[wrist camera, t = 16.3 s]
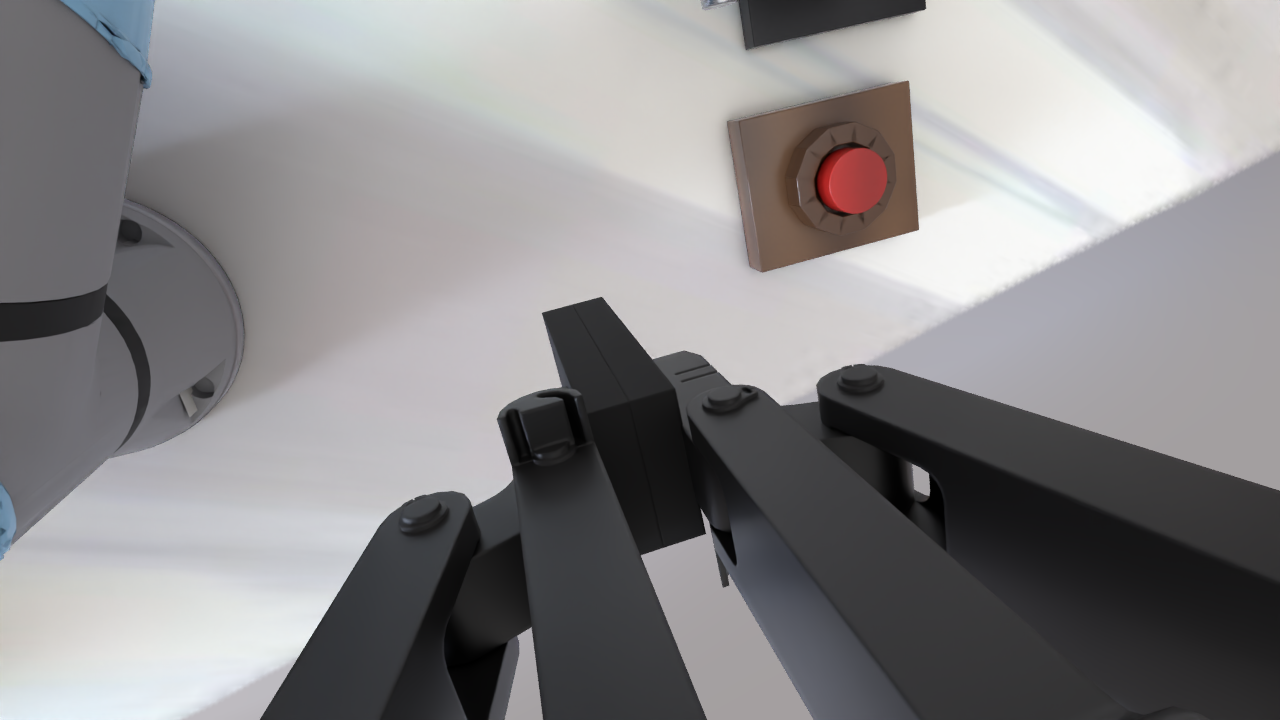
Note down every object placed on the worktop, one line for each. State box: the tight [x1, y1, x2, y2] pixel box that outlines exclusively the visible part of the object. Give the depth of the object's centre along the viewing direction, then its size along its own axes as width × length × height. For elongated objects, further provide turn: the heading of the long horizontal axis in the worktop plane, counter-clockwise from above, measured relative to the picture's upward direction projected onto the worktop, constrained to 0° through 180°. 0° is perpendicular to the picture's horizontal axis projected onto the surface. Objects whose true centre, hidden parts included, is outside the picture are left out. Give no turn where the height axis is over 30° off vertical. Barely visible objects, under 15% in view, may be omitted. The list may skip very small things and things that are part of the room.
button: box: [817, 147, 887, 214], centre depth 44 cm, size 4×4×2 cm
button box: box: [727, 81, 919, 272], centre depth 46 cm, size 12×10×4 cm
